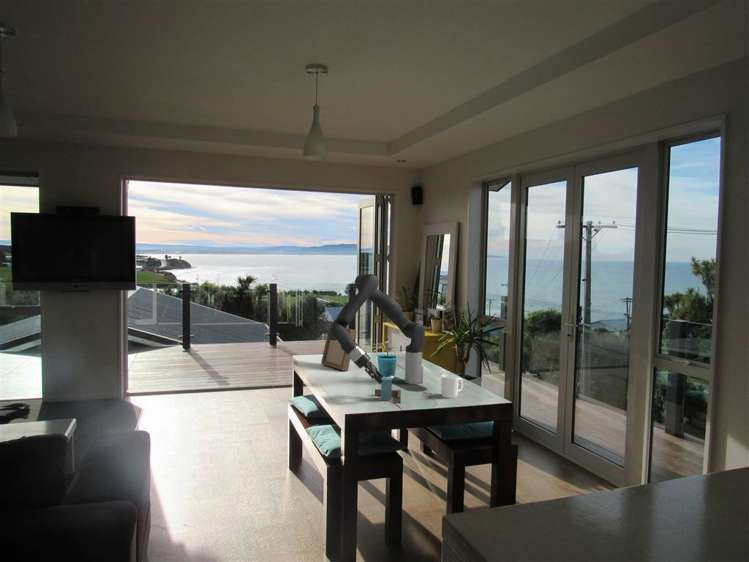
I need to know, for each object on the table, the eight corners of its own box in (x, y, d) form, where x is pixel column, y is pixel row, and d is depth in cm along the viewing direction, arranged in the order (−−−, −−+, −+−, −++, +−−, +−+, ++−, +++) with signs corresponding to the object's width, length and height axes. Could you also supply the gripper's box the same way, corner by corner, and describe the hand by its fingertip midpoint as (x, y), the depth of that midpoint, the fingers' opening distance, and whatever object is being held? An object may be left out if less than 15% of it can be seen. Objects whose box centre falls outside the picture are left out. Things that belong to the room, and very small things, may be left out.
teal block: (381, 397, 273) (381, 377, 272) (391, 397, 272) (391, 377, 272) (381, 400, 268) (381, 379, 267) (391, 400, 267) (391, 379, 267)
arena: (373, 402, 264) (373, 395, 264) (374, 394, 277) (375, 389, 277) (400, 403, 264) (400, 397, 263) (400, 395, 277) (400, 390, 276)
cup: (438, 394, 281) (438, 375, 280) (458, 392, 285) (459, 373, 285) (446, 399, 273) (447, 378, 272) (467, 396, 278) (468, 377, 277)
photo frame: (342, 371, 326) (343, 329, 325) (320, 365, 343) (322, 325, 341) (361, 369, 336) (362, 328, 334) (340, 362, 352) (341, 323, 351)
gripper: (363, 354, 262) (386, 378, 262) (365, 348, 276) (387, 372, 276) (352, 364, 262) (375, 389, 263) (354, 358, 277) (376, 382, 277)
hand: (381, 380), depth 269 cm, fingers open, 8 cm apart
